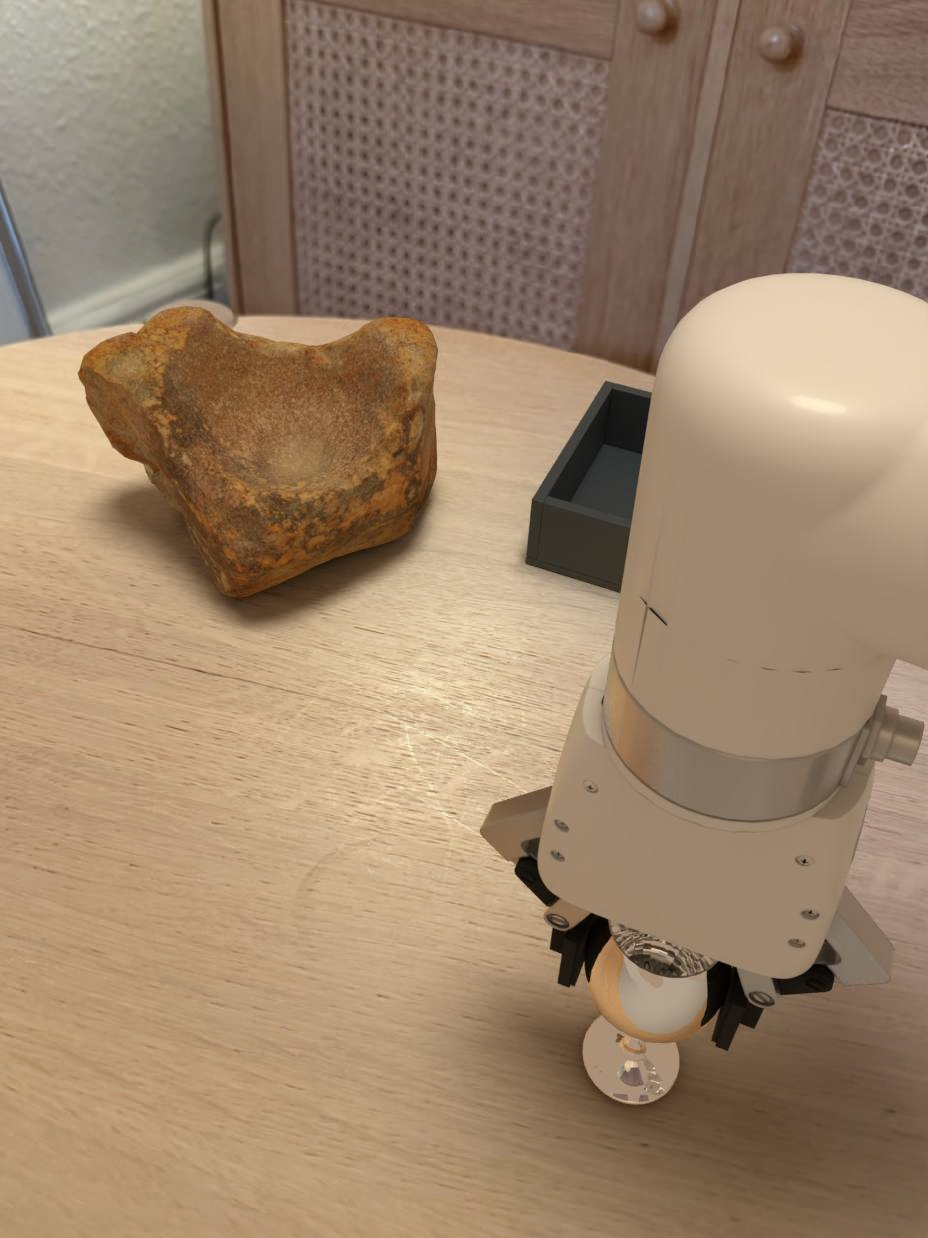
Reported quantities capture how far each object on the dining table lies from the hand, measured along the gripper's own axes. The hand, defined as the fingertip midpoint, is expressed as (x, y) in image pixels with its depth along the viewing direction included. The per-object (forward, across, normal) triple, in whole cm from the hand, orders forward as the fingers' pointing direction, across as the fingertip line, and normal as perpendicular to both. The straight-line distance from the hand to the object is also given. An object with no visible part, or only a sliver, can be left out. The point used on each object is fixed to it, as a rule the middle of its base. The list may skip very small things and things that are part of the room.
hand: (651, 983), depth 45 cm
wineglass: (+7, 0, 0) cm, 7 cm away
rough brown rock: (+7, +33, -25) cm, 42 cm away
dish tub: (+7, +9, -38) cm, 40 cm away
